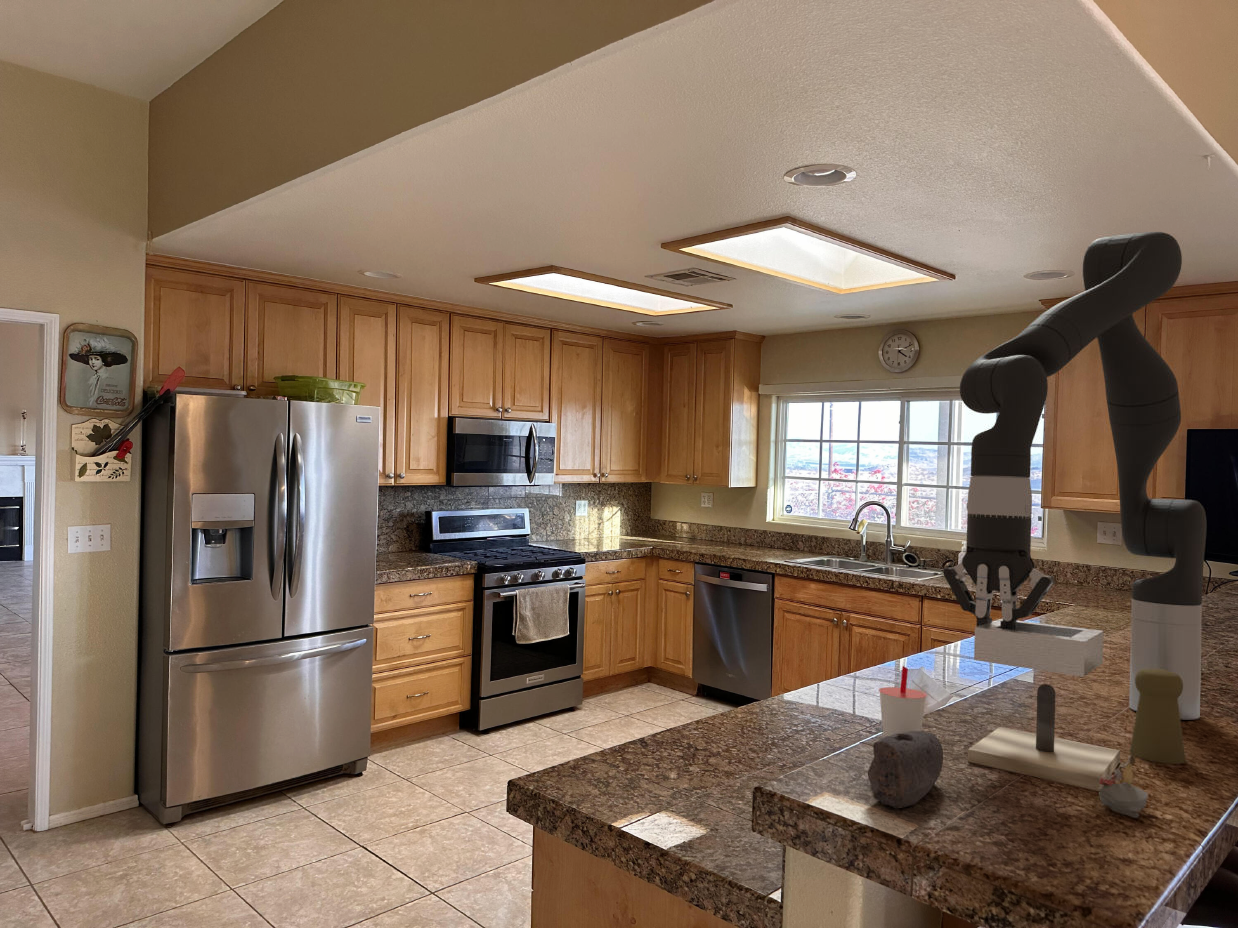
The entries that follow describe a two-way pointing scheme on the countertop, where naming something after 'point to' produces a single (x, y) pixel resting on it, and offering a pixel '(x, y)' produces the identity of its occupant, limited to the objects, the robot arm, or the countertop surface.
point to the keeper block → (1045, 751)
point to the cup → (901, 708)
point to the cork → (1158, 717)
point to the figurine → (1122, 791)
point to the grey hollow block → (1040, 647)
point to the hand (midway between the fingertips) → (995, 647)
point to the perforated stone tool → (905, 767)
